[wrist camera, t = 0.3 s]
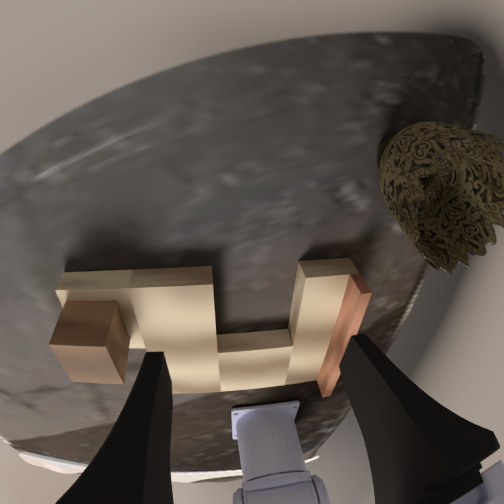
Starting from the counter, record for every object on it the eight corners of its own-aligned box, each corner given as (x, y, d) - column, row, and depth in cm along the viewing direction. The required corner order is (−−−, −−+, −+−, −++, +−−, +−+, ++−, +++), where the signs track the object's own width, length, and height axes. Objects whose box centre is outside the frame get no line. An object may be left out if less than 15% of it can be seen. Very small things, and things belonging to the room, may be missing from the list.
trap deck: (318, 363, 29) (330, 395, 26) (110, 376, 27) (105, 410, 23) (349, 257, 22) (371, 292, 19) (64, 272, 19) (45, 310, 16)
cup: (323, 158, 18) (390, 221, 11) (398, 78, 15) (494, 102, 9) (387, 223, 21) (450, 294, 15) (450, 155, 19) (528, 205, 12)
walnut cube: (130, 339, 21) (123, 384, 18) (83, 339, 21) (72, 381, 17) (117, 300, 19) (105, 346, 16) (65, 301, 18) (48, 344, 15)
